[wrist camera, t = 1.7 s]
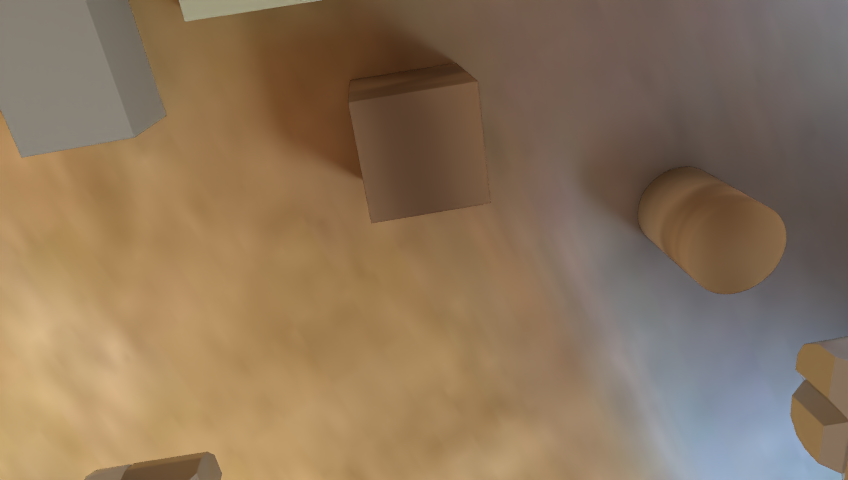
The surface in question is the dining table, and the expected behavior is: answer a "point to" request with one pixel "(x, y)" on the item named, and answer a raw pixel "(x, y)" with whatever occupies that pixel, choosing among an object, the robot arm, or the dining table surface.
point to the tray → (228, 7)
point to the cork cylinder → (712, 229)
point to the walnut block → (419, 141)
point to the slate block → (73, 74)
